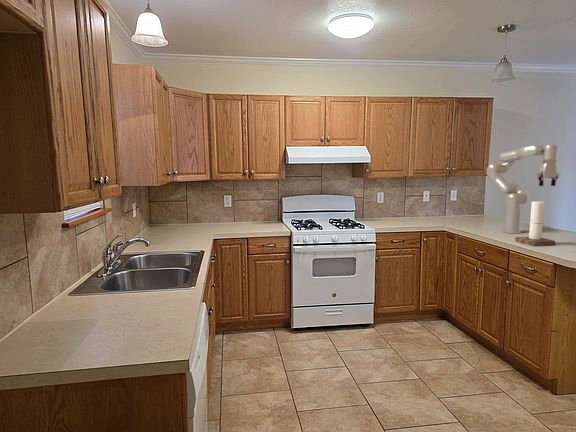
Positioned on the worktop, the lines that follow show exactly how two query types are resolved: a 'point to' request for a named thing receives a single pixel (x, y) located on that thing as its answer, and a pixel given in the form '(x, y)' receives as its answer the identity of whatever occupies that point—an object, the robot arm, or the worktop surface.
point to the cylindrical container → (536, 220)
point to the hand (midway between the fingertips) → (547, 185)
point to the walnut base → (535, 241)
